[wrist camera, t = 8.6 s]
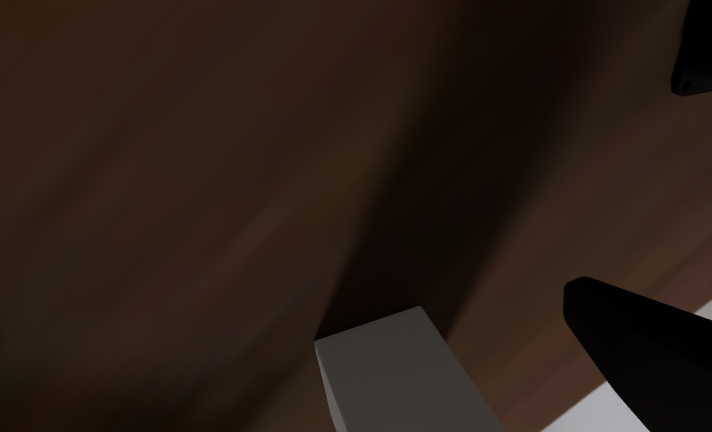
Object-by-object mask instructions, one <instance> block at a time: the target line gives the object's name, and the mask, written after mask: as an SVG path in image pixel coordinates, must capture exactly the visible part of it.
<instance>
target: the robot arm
mask: <svg viewBox="0 0 712 432" xmlns="http://www.w3.org/2000/svg"><path fill="white" fill-rule="evenodd" d="M671 90H672V92H673V93H674V94H676V95H679V96H688V95H694V94H700V93H705V92H711V91H712V0H696V1H695V5H694V8H693V12H692V15H691V19H690V22H689V26H688V30H687V33H686V37H685V40H684V44H683V47H682V51H681V54H680V58H679V62H678V65H677V69H676V72H675V76H674V79H673V83H672V88H671ZM563 315H564V319H565V321H566V323H567V325H568V327H569V328H570V329H571V331H572V332H573V334H574V335H575V336H576V338H577V339H578V341H579V342H580V343H581V345H582V346H583V348H584V349H585V351H586V352H587V353H588V355H589V356H590V358H591V359H592V360H593V362H594V363H595V365H596V366H597V367H598V369H599V370H600V372H601V373H602V375H603V376H604V377H605V379H606V380H607V381H608V383H609V384H610V385H611V387H612V388H613V389H614V391H615V392H616V393H617V394H618V396H619V397H620V398H621V399H622V400H623V401H624V402H625V404H626V405H627V406H628V407H629V408H630V409H631V411H632V412H633V413H634V414H635V415H636V416H637V417H638V419H639V420H640V421H641V422H642V423H643V424H644V425H645V427H646V428H647V429H648V430H649V431H650V432H712V320H709V319H707V318H704V317H701V316H698V315H695V314H692V313H690V312H687V311H684V310H681V309H678V308H675V307H672V306H670V305H667V304H664V303H661V302H658V301H655V300H653V299H650V298H647V297H644V296H641V295H638V294H636V293H633V292H630V291H627V290H624V289H621V288H619V287H616V286H613V285H610V284H607V283H604V282H602V281H599V280H596V279H593V278H590V277H585V276H584V277H580V278H577V279H575V280H572V281H570V282H568V283H566V285H565V286H564V298H563Z"/></svg>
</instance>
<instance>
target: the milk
mask: <svg viewBox="0 0 712 432" xmlns="http://www.w3.org/2000/svg"><path fill="white" fill-rule="evenodd" d="M314 345H315V349H316V354H317V358H318V362H319V366H320V371H321V375H322V379H323V383H324V388H325V392H326V396H327V400H328V405H329V409H330V413H331V417H332V420H333V422H334V425H335V428H336V431H337V432H506V431H505V429H504V428H503V426H502V425H501V423H500V422H499V420H498V419H497V417H496V416H495V414H494V413H493V411H492V410H491V409H490V407H489V406H488V404H487V403H486V401H485V400H484V398H483V397H482V395H481V394H480V392H479V391H478V389H477V388H476V386H475V385H474V383H473V382H472V381H471V379H470V378H469V376H468V375H467V373H466V372H465V370H464V369H463V367H462V366H461V364H460V363H459V361H458V360H457V358H456V357H455V355H454V354H453V352H452V351H451V350H450V348H449V347H448V345H447V344H446V342H445V341H444V339H443V338H442V336H441V335H440V333H439V332H438V330H437V329H436V327H435V326H434V324H433V323H432V322H431V320H430V319H429V317H428V316H427V314H426V313H425V311H424V310H423V308H422V307H421V306H417V307H414V308H411V309H408V310H405V311H402V312H399V313H396V314H393V315H390V316H387V317H384V318H381V319H378V320H375V321H372V322H369V323H366V324H363V325H360V326H357V327H354V328H351V329H348V330H345V331H342V332H339V333H336V334H334V335H331V336H328V337H325V338H322V339H319V340H316V341H315V342H314Z"/></svg>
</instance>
